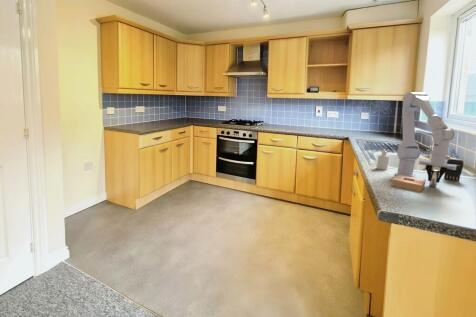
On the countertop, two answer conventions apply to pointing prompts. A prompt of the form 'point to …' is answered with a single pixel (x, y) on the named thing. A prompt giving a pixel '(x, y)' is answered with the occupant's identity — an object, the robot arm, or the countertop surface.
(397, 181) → the hole block
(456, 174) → the battery charger
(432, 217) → the countertop surface
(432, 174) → the steel peg
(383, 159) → the eye dropper bottle
